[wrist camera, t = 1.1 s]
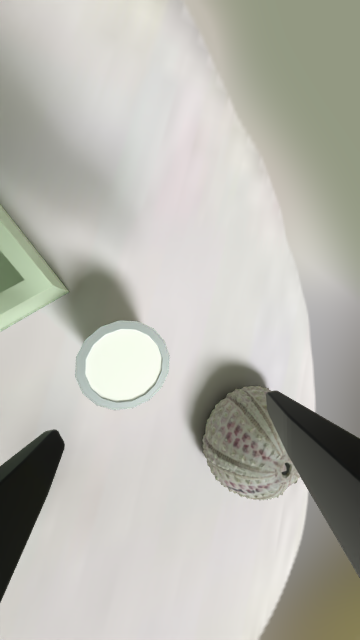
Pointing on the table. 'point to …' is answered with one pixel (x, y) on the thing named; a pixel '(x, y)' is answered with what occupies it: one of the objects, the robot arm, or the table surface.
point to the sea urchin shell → (247, 446)
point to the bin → (23, 276)
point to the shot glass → (122, 365)
